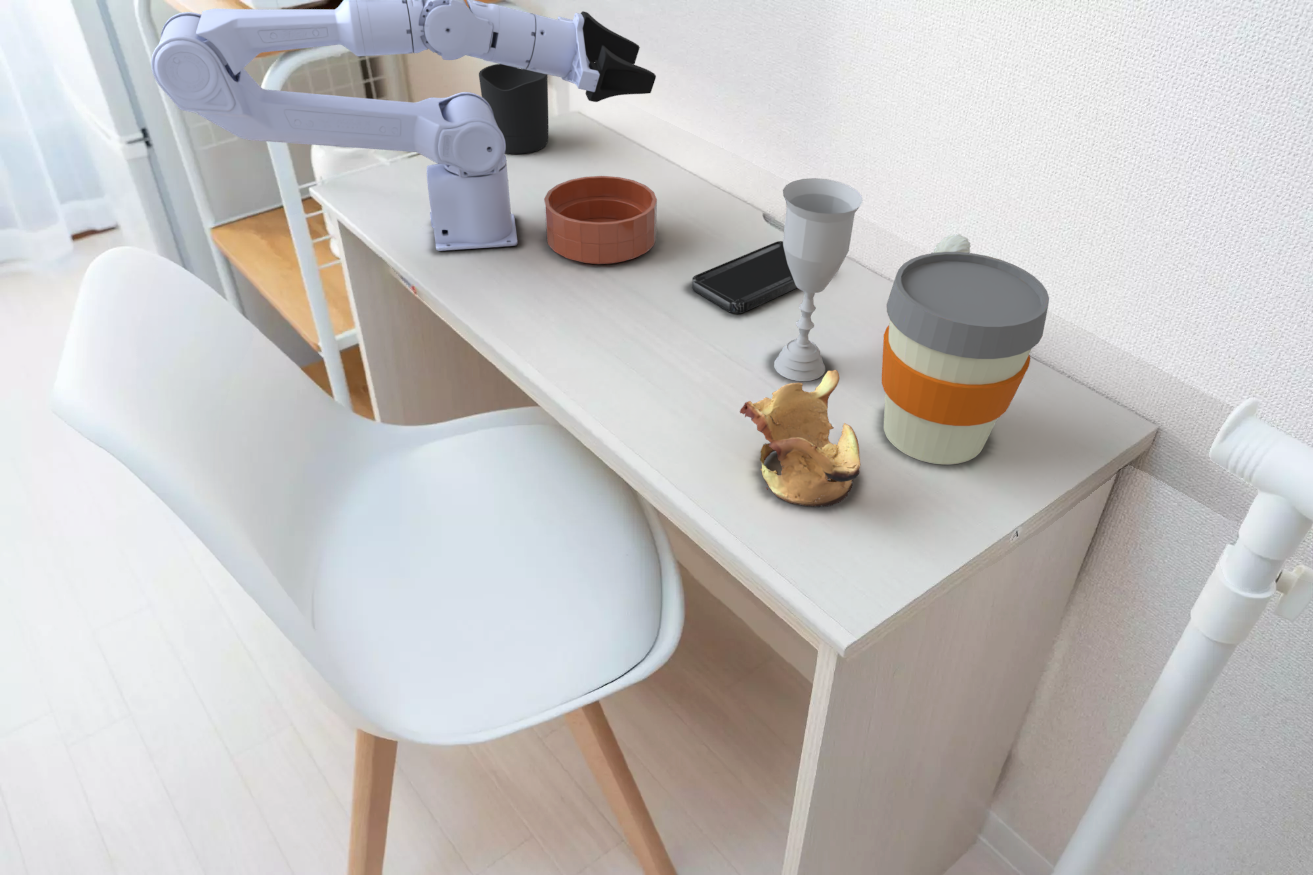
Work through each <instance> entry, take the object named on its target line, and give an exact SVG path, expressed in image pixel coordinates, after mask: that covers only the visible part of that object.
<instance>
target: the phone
mask: <svg viewBox="0 0 1313 875" xmlns="http://www.w3.org/2000/svg"><path fill="white" fill-rule="evenodd" d="M691 289H692V291H693V292H695V293H697V294H699V296H701V297H703V298H705V299H707V300H709V301H710V302H712V303H714V304H715V305H717V306H719V307H720V308H722V309H724V310H725V311H727V312H729V313H731V314H743V313H745V312H748V311H750V310H752V309H754V308H756V307H759V306H761V305H763V304H765V303H767V302H770V301H772V300H774V299H777V298H779V297H781V296H782V295H785V294H787V293H789V292H791V291H793V290H795V289H798V288H797V286H796V284H795V282H794V279H793V277H792V274H791V272H790V269H789V266H788V264H787V260H786V255H785V251H784V247H783V240H778V241H775V242H771V243H770V244H767V245H765V246H762V247H760V248H758V249H755V250H753V251H750V252H748V253H746V254H744V255H741V256H738V257H736V258H734V259H731V260H729V261H727V262H724V263H722V264H719V265H717V266H715V267H712V268H710V269H707V270H705V271H702V272H700V273H697V274H695V275H694V276H693V277H692V280H691Z"/></svg>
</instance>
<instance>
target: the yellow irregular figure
mask: <svg viewBox="0 0 1313 875" xmlns="http://www.w3.org/2000/svg"><path fill="white" fill-rule="evenodd" d="M839 382H840V373H839V371H838V370H837V369H834V370H827V372H826V373H825V374H824V376H823V377H822V379H821V382H820V383H819V385H817V386H816V387H815V390H814V391H807V390H804V389H803V385H804V384H803V383H802V382H790V383H787V384H784V385H782V386H780V388H778V389H777V390H775V391H773V392H772V393H771V395H772V397H771V398H770V397H763V399H761V400H758V401H757V402H754V403H753V401H751V400H748V401H746V402H744V403H743V406H742V407H741V408H740V409H739V413H740V414H742V415H744V418H746V417H748V418H749V419H750V420H751V422H752V423H754V424H755V425H756V430H757V431H758V432H760V433H761V434H763V435H764V438H765V440H767V441H768V442H769V443H764V444H762V447H761V449H760V458H759V461H760V462H761V468H759V471H761V474H762V478H763V480H764V482H765V483H766V485H767V486H768V487H765V489H766V491H768V490H769V489H770V491H771V492H772V493H773V494H774V495H775V496H776V497H777V498H779V499H780V500H783V501H785V502H787V503H789V504H794V505H800V506H803V507H813V508H814V507H818V508H820V507H831V506H834V505H836V504H840V503H841V502H842V501H843V500H844V499H846V498H847V497H849V496H848V495H849V493H850V492H851V491H852V489H853V487H854V483H853V482H854V480H855V479H856V478H857V477H858V476H859V475H860V469H861V456H860V445H859V440H858V437H857V434H856V431H855V430H854V428H853V427H852V426H851V425H849V424H848V423H846V422H844V423H843V425H842V429H841V435H840V437H839V439H838V442H837V443H832V442H831V441H830V438H829V437H830V430H833V429H834V428H835V427H834V426H833V425H832V423H831V422H830V420H829V415H828V410H829V409H828V408H829V399H830V396H831V395H832V393H833V392H834V391H835V390H836V388H837V386H838V384H839ZM773 452H775V453H776V459H777V461H778V462H780V463H779V464H780V466H781V470H780V471H781V473H780V475H778V471H777V470H770V469H768V467H767V465H766V464H765V461H766V460H767V458H768V457H769V456H770V455H771V453H773Z"/></svg>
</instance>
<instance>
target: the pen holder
mask: <svg viewBox="0 0 1313 875" xmlns="http://www.w3.org/2000/svg"><path fill="white" fill-rule="evenodd" d="M478 79H479V87H480V93H481V94H480V96H481V97H482V98H484V99H485V100H486V101H487V102H488V104H489V105H490V107H491V109H492V111H493V115H494V119H495V121H496V123H497V126H498V128H499V129H500V131H501V132H502V134H503V136H504V139H505V144H506V150H505V154H508V155H509V154H510V155H524V154H531V153H534V152H538V151H540V150H542V149H543V148H546V146H547V144H548V143H549V84H548V82H549V81H548V80H549V79H548V75H547V74H543V73H538V72H534V71H530V70H525V69H521V68H516V67H512V66H507V65H503V64H498V63H494V64H490V65H487V66H486V67H483V68H482V69H481V70H479V72H478Z"/></svg>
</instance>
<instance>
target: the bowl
mask: <svg viewBox="0 0 1313 875" xmlns="http://www.w3.org/2000/svg"><path fill="white" fill-rule="evenodd" d="M657 198H658V197H657V196H656V194H655V192H654V190H652V189H651V188H650V187H648V186H647V185H646V184H643V183H641V182H639V181H637V180H634V179H630V178H626V177H620V176H613V175H612V176H611V175H610V176H609V175H593V176H592V175H591V176H590V175H589V176H582V177H576V178H572V179H568V180H565V181H563V182H561V183H558V184H556V185H554V186H553V187H552V188H551V189H549V190H548V191H547V192H546V194H545V196H544V198H543V201H544V202H543V204H544V219H545V235H546V242H547V245H548V246H549V247H550V248H551V250H552V251H553V252H555V253H556V254H559V255H560V256H562V257H563V258H566V259H568V260H572V261H575V262H576V261H577V262H578V263H579V262H580V263H584V264H592V265H610V264H611V265H612V264H617V263H622V262H626V261H629V260H633V259H636V258H638V257H640V256H642V255H644V254H646V253H647V252H649V251H650V250H651V249H652V248H653V247H654V246H655V243H656V241H657V230H658V228H657V226H658V224H657V222H658V199H657Z"/></svg>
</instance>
